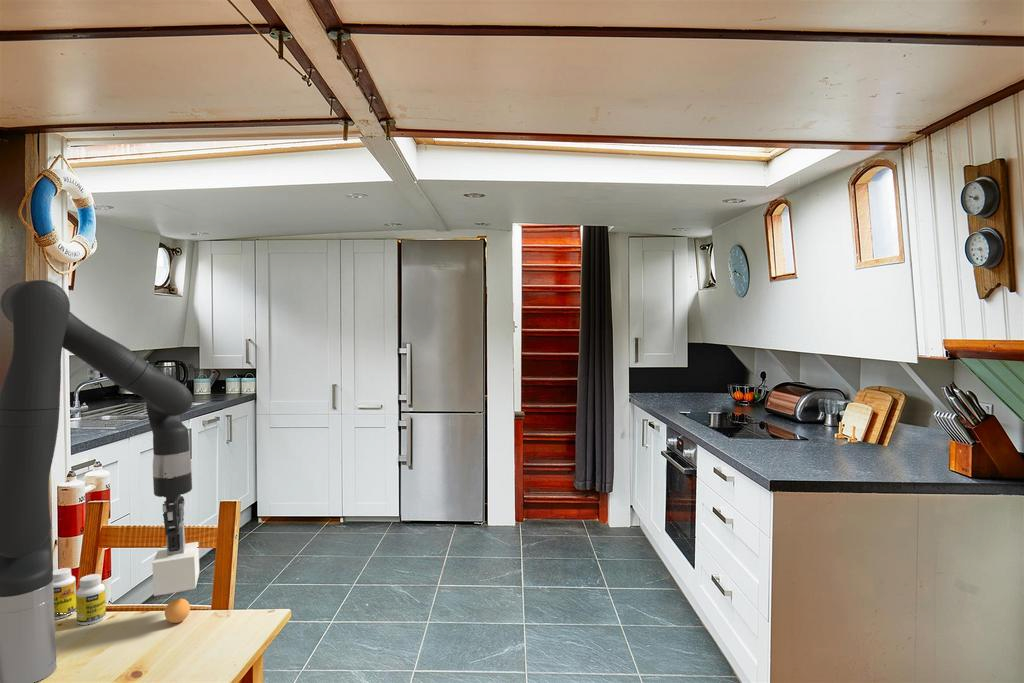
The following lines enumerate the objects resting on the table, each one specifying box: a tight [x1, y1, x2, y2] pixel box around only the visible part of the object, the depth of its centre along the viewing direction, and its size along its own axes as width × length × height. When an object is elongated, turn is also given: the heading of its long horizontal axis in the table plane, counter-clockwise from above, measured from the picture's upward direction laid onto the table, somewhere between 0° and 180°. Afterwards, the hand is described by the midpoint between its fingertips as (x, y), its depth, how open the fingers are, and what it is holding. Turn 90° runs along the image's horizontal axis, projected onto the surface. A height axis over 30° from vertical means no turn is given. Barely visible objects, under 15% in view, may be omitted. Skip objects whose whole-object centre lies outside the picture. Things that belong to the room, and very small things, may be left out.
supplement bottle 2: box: [75, 573, 107, 626], centre depth 135 cm, size 5×5×10 cm
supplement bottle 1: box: [53, 567, 77, 620], centre depth 138 cm, size 6×6×10 cm
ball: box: [164, 598, 191, 624], centre depth 134 cm, size 5×5×5 cm
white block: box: [151, 522, 200, 597], centre depth 135 cm, size 8×10×13 cm
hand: (175, 547), depth 135 cm, fingers closed on white block, 3 cm apart
